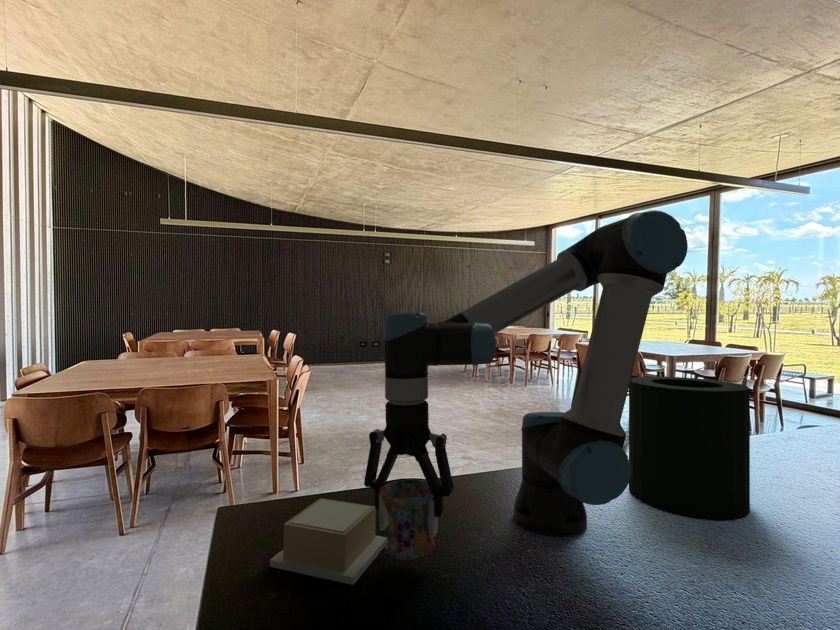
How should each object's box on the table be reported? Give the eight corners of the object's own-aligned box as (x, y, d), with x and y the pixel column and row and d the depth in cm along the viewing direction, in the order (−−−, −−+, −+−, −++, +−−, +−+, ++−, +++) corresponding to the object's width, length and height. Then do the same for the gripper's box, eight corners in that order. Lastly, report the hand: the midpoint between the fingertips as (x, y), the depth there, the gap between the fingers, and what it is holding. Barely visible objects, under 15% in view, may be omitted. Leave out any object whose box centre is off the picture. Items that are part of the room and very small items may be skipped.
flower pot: (632, 509, 101) (632, 386, 102) (626, 474, 125) (626, 374, 125) (766, 529, 92) (766, 394, 92) (732, 487, 115) (732, 379, 115)
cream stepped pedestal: (387, 543, 85) (387, 505, 85) (353, 585, 71) (353, 539, 72) (314, 530, 90) (314, 494, 90) (270, 566, 77) (270, 523, 77)
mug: (443, 559, 73) (439, 494, 73) (387, 569, 71) (383, 502, 71) (426, 527, 84) (423, 471, 84) (378, 535, 82) (374, 478, 82)
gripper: (471, 399, 78) (473, 529, 77) (361, 394, 84) (363, 513, 84) (461, 407, 71) (463, 550, 70) (342, 401, 77) (344, 532, 77)
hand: (408, 530), depth 77 cm, fingers closed on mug, 8 cm apart
